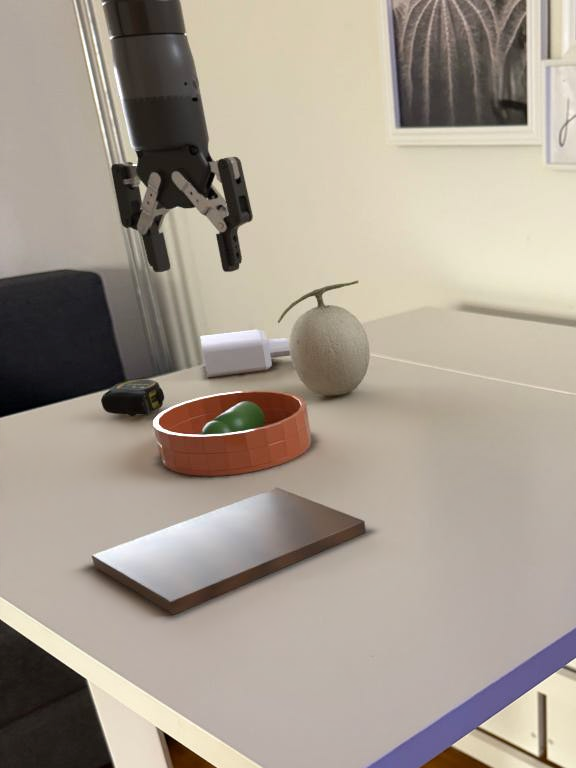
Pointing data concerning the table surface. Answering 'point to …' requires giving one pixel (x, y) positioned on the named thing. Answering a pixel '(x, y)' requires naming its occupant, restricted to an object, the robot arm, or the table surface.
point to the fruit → (328, 346)
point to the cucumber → (236, 419)
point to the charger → (241, 352)
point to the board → (226, 548)
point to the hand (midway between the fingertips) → (196, 270)
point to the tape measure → (133, 398)
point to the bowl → (232, 434)
